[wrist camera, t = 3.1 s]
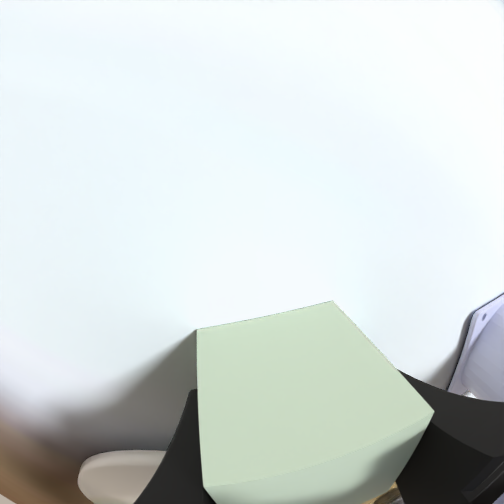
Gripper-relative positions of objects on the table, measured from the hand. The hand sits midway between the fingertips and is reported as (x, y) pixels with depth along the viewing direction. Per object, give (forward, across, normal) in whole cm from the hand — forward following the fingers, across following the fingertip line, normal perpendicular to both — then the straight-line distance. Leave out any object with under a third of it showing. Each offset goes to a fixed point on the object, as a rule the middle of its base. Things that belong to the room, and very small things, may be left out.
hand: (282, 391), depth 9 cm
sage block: (+1, 0, 0) cm, 1 cm away
